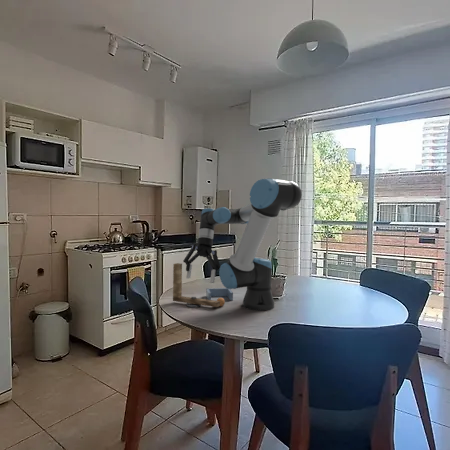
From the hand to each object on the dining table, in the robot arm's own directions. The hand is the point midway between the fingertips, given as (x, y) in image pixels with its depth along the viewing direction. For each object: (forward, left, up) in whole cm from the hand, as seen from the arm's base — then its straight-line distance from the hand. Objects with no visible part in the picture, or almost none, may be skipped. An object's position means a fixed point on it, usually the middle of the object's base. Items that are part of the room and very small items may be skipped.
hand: (200, 280), depth 167 cm
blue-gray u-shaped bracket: (0, -13, -11) cm, 17 cm away
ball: (-11, -3, -11) cm, 16 cm away
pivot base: (-1, +5, -11) cm, 12 cm away
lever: (-2, +4, -10) cm, 11 cm away
